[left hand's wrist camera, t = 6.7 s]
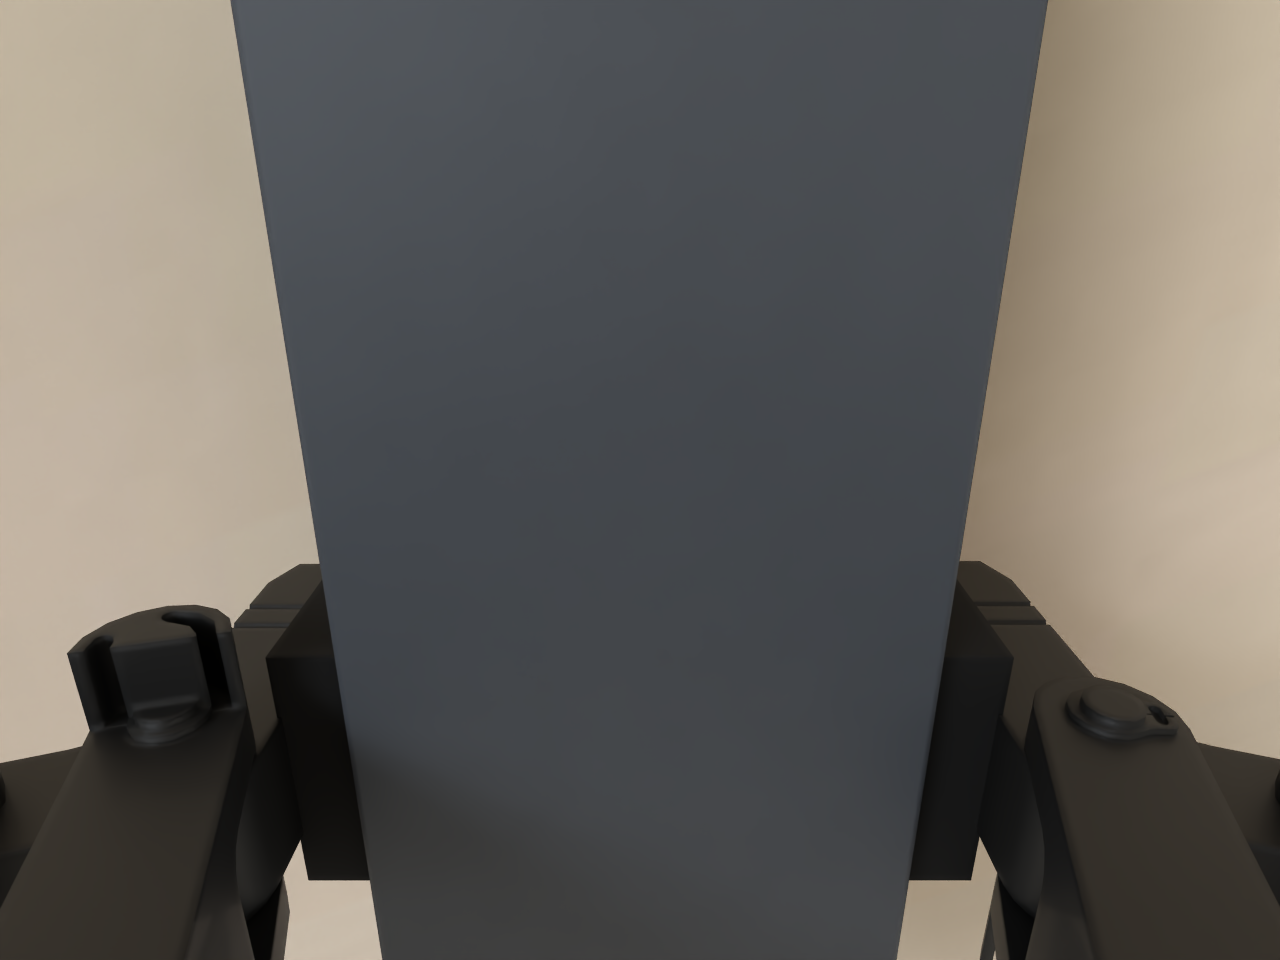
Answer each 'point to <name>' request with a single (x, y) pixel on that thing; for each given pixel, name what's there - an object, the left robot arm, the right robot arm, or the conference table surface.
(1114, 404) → the conference table surface
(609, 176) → the post
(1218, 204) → the conference table surface
